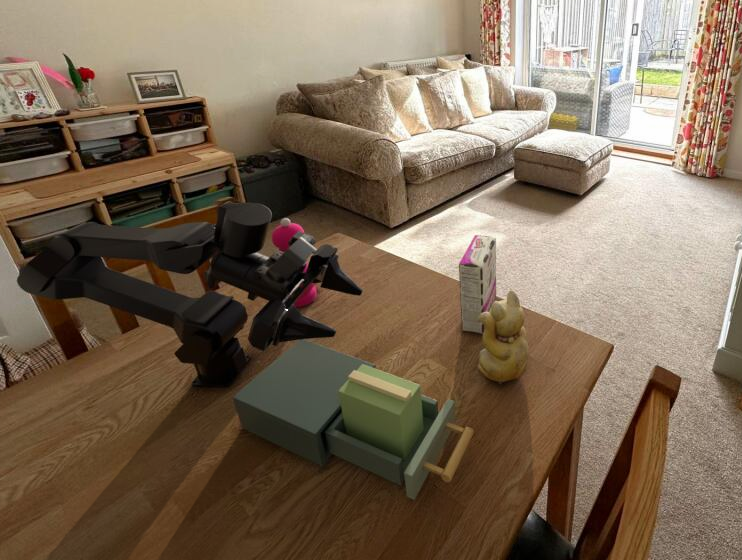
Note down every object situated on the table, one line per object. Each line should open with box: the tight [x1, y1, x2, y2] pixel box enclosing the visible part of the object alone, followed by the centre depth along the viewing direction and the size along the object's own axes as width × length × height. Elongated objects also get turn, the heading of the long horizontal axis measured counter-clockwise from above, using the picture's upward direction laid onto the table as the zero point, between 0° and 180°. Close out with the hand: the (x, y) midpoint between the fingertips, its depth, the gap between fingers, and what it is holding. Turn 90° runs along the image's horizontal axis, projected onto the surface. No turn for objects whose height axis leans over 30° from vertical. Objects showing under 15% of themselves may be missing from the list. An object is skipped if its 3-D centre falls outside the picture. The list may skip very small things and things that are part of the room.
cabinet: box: [232, 339, 377, 467], centre depth 63 cm, size 16×13×7 cm
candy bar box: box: [458, 234, 497, 335], centre depth 83 cm, size 11×5×16 cm, turn 168°
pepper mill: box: [271, 217, 318, 308], centre depth 86 cm, size 7×7×20 cm
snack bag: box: [338, 364, 424, 461], centre depth 58 cm, size 5×10×10 cm, turn 70°
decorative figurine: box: [477, 289, 530, 385], centre depth 70 cm, size 10×8×15 cm
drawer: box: [325, 394, 474, 501], centre depth 58 cm, size 19×11×5 cm, turn 70°
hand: (349, 312), depth 64 cm, fingers open, 9 cm apart
